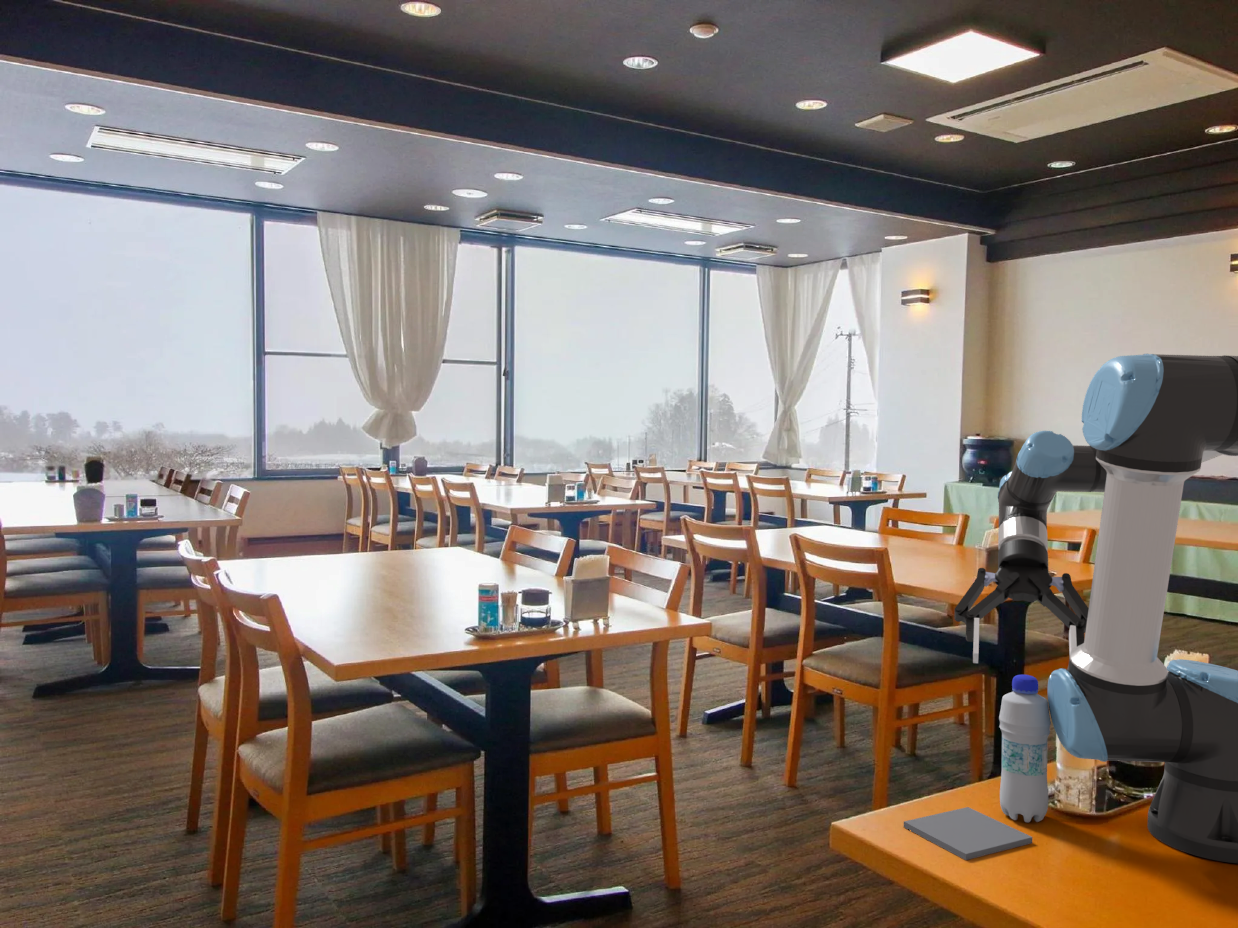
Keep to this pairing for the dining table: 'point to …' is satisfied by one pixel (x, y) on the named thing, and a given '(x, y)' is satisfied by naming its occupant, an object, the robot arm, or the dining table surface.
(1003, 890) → the dining table surface
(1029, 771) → the bottle
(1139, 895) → the dining table surface
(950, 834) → the mat
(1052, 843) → the dining table surface
